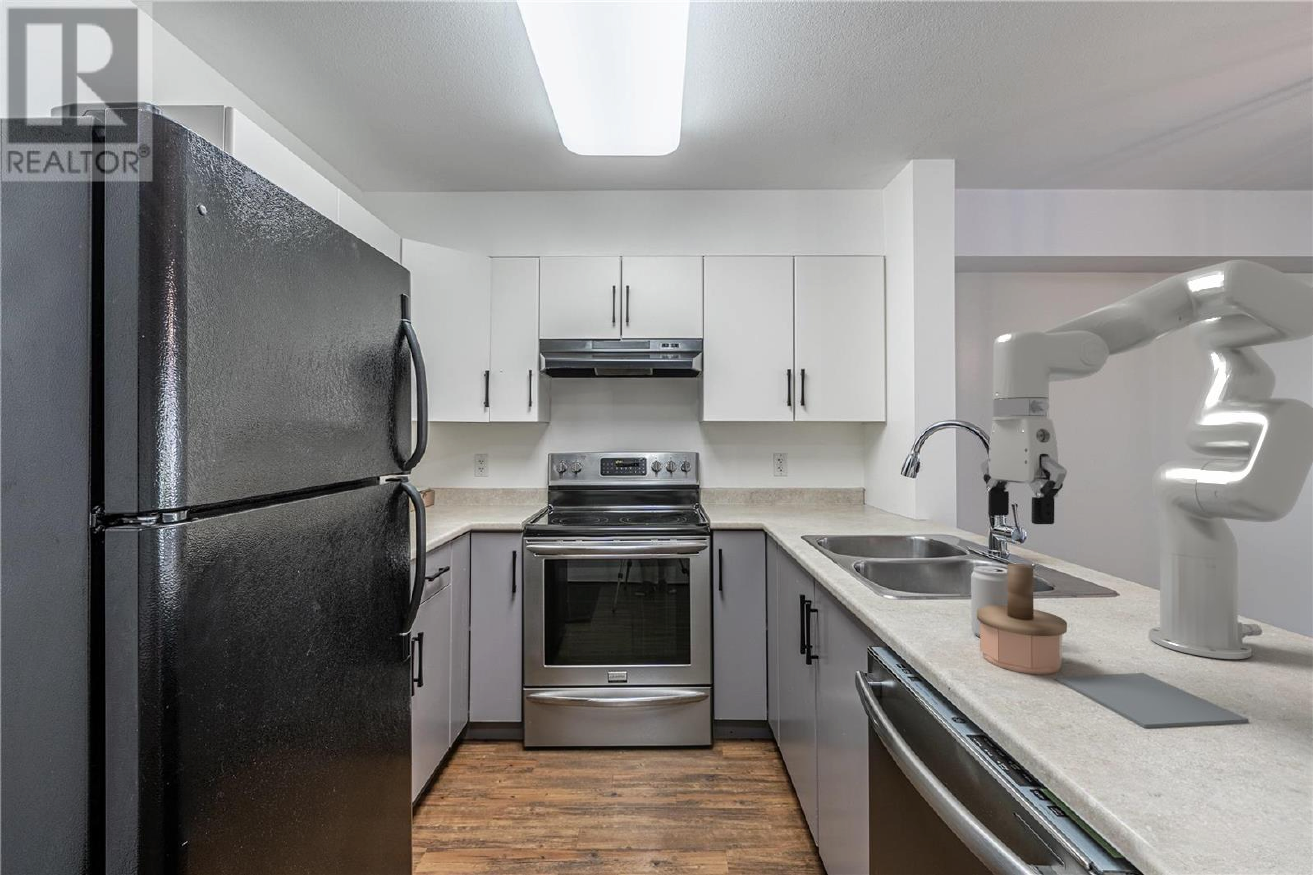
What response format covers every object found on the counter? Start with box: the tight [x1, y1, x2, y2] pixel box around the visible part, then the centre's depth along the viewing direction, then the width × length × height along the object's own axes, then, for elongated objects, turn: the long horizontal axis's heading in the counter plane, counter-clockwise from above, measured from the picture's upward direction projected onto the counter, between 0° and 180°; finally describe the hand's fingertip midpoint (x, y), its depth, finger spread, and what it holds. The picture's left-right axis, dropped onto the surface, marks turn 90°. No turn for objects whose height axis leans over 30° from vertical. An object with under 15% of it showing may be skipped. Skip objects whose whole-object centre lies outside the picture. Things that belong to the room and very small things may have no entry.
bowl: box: [979, 622, 1063, 676], centre depth 91 cm, size 10×10×6 cm
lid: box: [977, 563, 1068, 636], centre depth 91 cm, size 12×12×9 cm
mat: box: [1054, 672, 1250, 729], centre depth 77 cm, size 14×14×1 cm
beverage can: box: [970, 565, 1007, 638], centre depth 102 cm, size 6×6×12 cm
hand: (1019, 519), depth 91 cm, fingers open, 9 cm apart
